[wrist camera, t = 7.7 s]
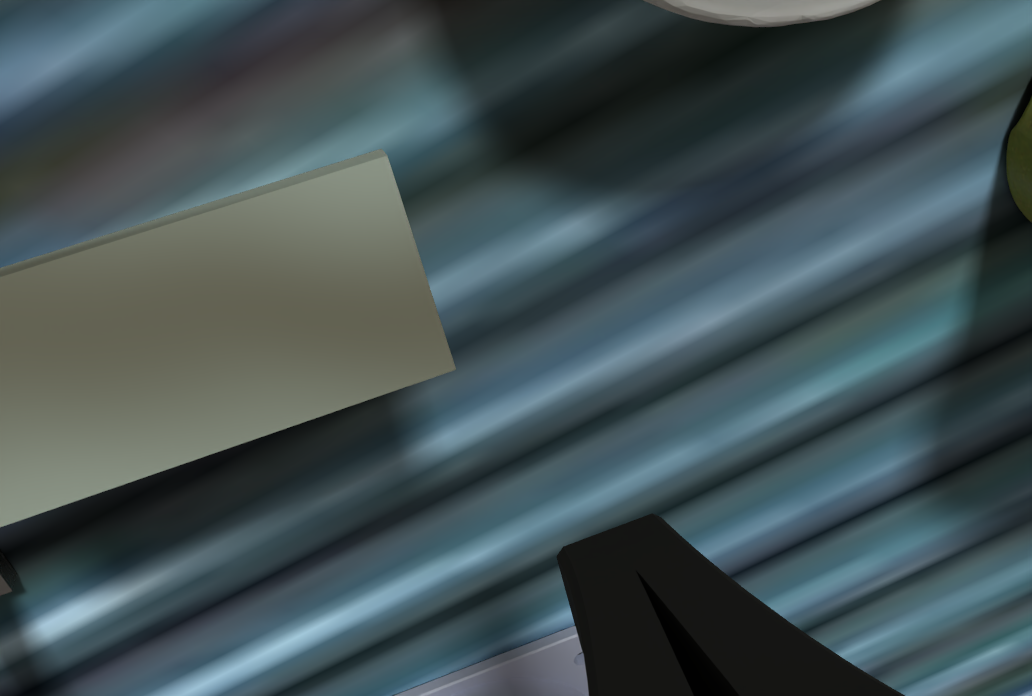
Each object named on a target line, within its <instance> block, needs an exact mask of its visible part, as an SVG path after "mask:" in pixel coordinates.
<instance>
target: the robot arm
mask: <svg viewBox="0 0 1032 696" xmlns="http://www.w3.org/2000/svg"><path fill="white" fill-rule="evenodd" d="M557 560H558V564H559V567H560V571H561V575H562V579H563V582H564V586H565V590H566V593H567V597H568V601H569V604H570V608H571V612H572V615H573V619H574V623H575V626H573V627H570V628H567V629H565V630H562V631H559V632H557V633H554V634H552V635H549V636H546V637H544V638H541V639H539V640H536V641H534V642H531V643H528V644H526V645H523V646H521V647H518V648H515V649H513V650H510V651H508V652H505V653H503V654H500V655H497V656H495V657H492V658H490V659H487V660H484V661H482V662H479V663H477V664H474V665H472V666H469V667H466V668H464V669H461V670H459V671H456V672H453V673H451V674H448V675H446V676H443V677H441V678H438V679H435V680H433V681H430V682H428V683H425V684H422V685H420V686H417V687H415V688H412V689H410V690H407V691H404V692H402V693H399V694H397V695H394V696H905V695H903V694H901V693H899V692H898V691H896V690H894V689H892V688H891V687H889V686H887V685H885V684H884V683H882V682H880V681H879V680H877V679H875V678H874V677H872V676H870V675H869V674H867V673H866V672H864V671H862V670H861V669H859V668H858V667H856V666H854V665H853V664H851V663H850V662H848V661H846V660H845V659H843V658H842V657H840V656H839V655H837V654H836V653H834V652H833V651H831V650H830V649H828V648H827V647H825V646H824V645H822V644H820V643H819V642H817V641H816V640H814V639H813V638H811V637H810V636H808V635H807V634H806V633H804V632H803V631H801V630H800V629H798V628H797V627H796V626H794V625H793V624H791V623H790V622H788V621H787V620H786V619H784V618H783V617H782V616H780V615H779V614H778V613H776V612H775V611H774V610H772V609H771V608H769V607H768V606H767V605H765V604H764V603H763V602H761V601H760V600H759V599H757V598H756V597H755V596H753V595H752V594H751V593H749V592H748V591H747V590H745V589H744V588H743V587H741V586H740V585H739V584H738V583H736V582H735V581H734V580H733V579H731V578H730V577H729V576H728V575H726V574H725V573H724V572H723V571H721V570H720V569H719V568H718V567H717V566H715V565H714V564H713V563H712V562H710V561H709V560H708V559H707V558H706V557H704V556H703V555H702V554H701V553H700V552H699V551H697V550H696V549H695V548H694V547H693V546H692V545H691V544H689V543H688V542H687V541H686V540H685V539H684V538H683V537H682V536H680V535H679V534H678V533H677V532H676V531H675V530H674V529H673V528H672V527H671V526H670V525H669V524H667V523H666V522H665V521H664V520H663V519H662V518H661V517H659V516H657V515H654V514H650V515H647V516H644V517H642V518H639V519H636V520H634V521H631V522H628V523H626V524H623V525H620V526H618V527H615V528H612V529H610V530H607V531H604V532H602V533H599V534H596V535H594V536H591V537H588V538H586V539H583V540H580V541H578V542H575V543H572V544H570V545H567V546H564V547H563V548H562V549H561V551H560V552H559V554H558V555H557ZM581 652H583V653H581ZM579 653H581V654H579ZM578 654H579V655H578Z"/></svg>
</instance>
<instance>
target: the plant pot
mask: <svg viewBox="0 0 1032 696" xmlns="http://www.w3.org/2000/svg"><path fill="white" fill-rule="evenodd" d="M1007 179H1008V184H1009V188H1010V191H1011V194H1012V197H1013V199H1014V201H1015V203H1016V205H1017V206H1018V208H1019V209H1020V210H1021V212H1022V213H1023V214H1024V215H1025V217H1026V218H1027V219H1028V220H1029V221H1030V222H1031V223H1032V96H1031V99H1030V102H1029V104H1028V106H1027V107H1026V109H1025V111H1024V113H1023V115H1022V117H1021V119H1020V120H1019V122H1018V123H1017V125H1016V126H1015V127H1014V128H1013V129H1012V131H1011V133H1010V136H1009V139H1008V147H1007Z"/></svg>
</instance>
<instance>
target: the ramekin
mask: <svg viewBox="0 0 1032 696" xmlns="http://www.w3.org/2000/svg"><path fill="white" fill-rule="evenodd" d="M643 1H645V2H648V3H650V4H653V5H655V6H657V7H660V8H662V9H665V10H668V11H671V12H674V13H677V14H680V15H683V16H686V17H688V18H693V19H697V20H701V21H705V22H711V23H719V24H726V25H735V26H749V27H776V26H785V25H790V24H797V23H806V22H813V21H820V20H828V19H831V18H834V17H838V16H841V15H845V14H848V13H852V12H854V11H857V10H859V9H862V8H865V7H867V6H870V5H872V4H874V3H876V2H878V1H880V0H643Z"/></svg>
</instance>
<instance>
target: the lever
mask: <svg viewBox="0 0 1032 696" xmlns="http://www.w3.org/2000/svg"><path fill="white" fill-rule="evenodd" d="M453 370H456V368H455V365H454V362H453V359H452V356H451V352H450V349H449V346H448V343H447V340H446V337H445V334H444V331H443V328H442V324H441V321H440V318H439V315H438V312H437V309H436V306H435V303H434V300H433V296H432V293H431V290H430V287H429V284H428V281H427V278H426V275H425V272H424V268H423V265H422V262H421V259H420V256H419V253H418V250H417V247H416V244H415V240H414V237H413V234H412V231H411V228H410V225H409V222H408V219H407V216H406V212H405V209H404V206H403V203H402V200H401V197H400V194H399V191H398V188H397V184H396V181H395V178H394V175H393V172H392V169H391V166H390V163H389V160H388V156H387V155H386V154H385V152H384V151H383V150H382V149H379V150H376V151H373V152H370V153H366V154H363V155H360V156H357V157H354V158H350V159H347V160H344V161H341V162H338V163H334V164H331V165H328V166H325V167H322V168H319V169H315V170H312V171H309V172H306V173H303V174H299V175H296V176H293V177H290V178H287V179H283V180H280V181H277V182H274V183H271V184H267V185H264V186H261V187H258V188H255V189H251V190H248V191H245V192H242V193H239V194H235V195H232V196H229V197H226V198H223V199H219V200H216V201H213V202H210V203H207V204H203V205H200V206H197V207H194V208H191V209H188V210H184V211H181V212H178V213H175V214H172V215H168V216H165V217H162V218H159V219H156V220H152V221H149V222H146V223H143V224H140V225H136V226H133V227H130V228H127V229H124V230H120V231H117V232H114V233H111V234H108V235H104V236H101V237H98V238H95V239H92V240H88V241H85V242H82V243H79V244H76V245H72V246H69V247H66V248H63V249H60V250H57V251H53V252H50V253H47V254H44V255H41V256H37V257H34V258H31V259H28V260H25V261H21V262H18V263H15V264H12V265H9V266H5V267H2V268H0V527H3V526H5V525H8V524H11V523H14V522H17V521H20V520H23V519H26V518H29V517H31V516H34V515H37V514H40V513H43V512H46V511H49V510H52V509H55V508H57V507H60V506H63V505H66V504H69V503H72V502H75V501H78V500H81V499H83V498H86V497H89V496H92V495H95V494H98V493H101V492H104V491H107V490H109V489H112V488H115V487H118V486H121V485H124V484H127V483H130V482H133V481H135V480H138V479H141V478H144V477H147V476H150V475H153V474H156V473H159V472H161V471H164V470H167V469H170V468H173V467H176V466H179V465H182V464H185V463H187V462H190V461H193V460H196V459H199V458H202V457H205V456H208V455H211V454H213V453H216V452H219V451H222V450H225V449H228V448H231V447H234V446H237V445H239V444H242V443H245V442H248V441H251V440H254V439H257V438H260V437H263V436H266V435H268V434H271V433H274V432H277V431H280V430H283V429H286V428H289V427H292V426H294V425H297V424H300V423H303V422H306V421H309V420H312V419H315V418H318V417H320V416H323V415H326V414H329V413H332V412H335V411H338V410H341V409H344V408H346V407H349V406H352V405H355V404H358V403H361V402H364V401H367V400H370V399H372V398H375V397H378V396H381V395H384V394H387V393H390V392H393V391H396V390H398V389H401V388H404V387H407V386H410V385H413V384H416V383H419V382H422V381H424V380H427V379H430V378H433V377H436V376H439V375H442V374H445V373H448V372H450V371H453Z"/></svg>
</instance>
